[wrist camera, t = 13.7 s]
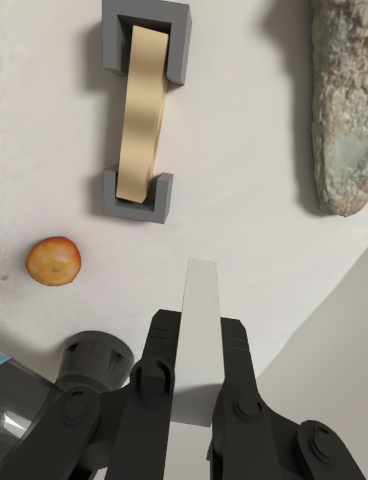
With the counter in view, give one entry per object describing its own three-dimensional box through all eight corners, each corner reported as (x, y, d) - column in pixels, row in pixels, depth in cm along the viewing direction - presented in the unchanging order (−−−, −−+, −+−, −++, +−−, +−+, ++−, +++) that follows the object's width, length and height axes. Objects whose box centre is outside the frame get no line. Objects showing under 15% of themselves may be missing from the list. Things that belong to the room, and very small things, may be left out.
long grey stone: (298, 214, 37) (367, 200, 36) (313, 229, 32) (393, 214, 31) (296, -150, 21) (423, -200, 19) (326, -224, 16) (495, -295, 15)
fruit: (21, 236, 40) (13, 256, 33) (71, 224, 43) (73, 240, 36) (39, 276, 44) (35, 301, 37) (84, 262, 46) (88, 283, 40)
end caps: (168, 213, 37) (163, 224, 33) (115, 203, 37) (104, 213, 33) (192, 22, 27) (189, 4, 23) (117, 10, 27) (101, -9, 23)
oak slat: (149, 193, 36) (141, 203, 32) (127, 187, 36) (116, 196, 32) (174, 48, 28) (167, 34, 24) (145, 40, 28) (133, 25, 24)
